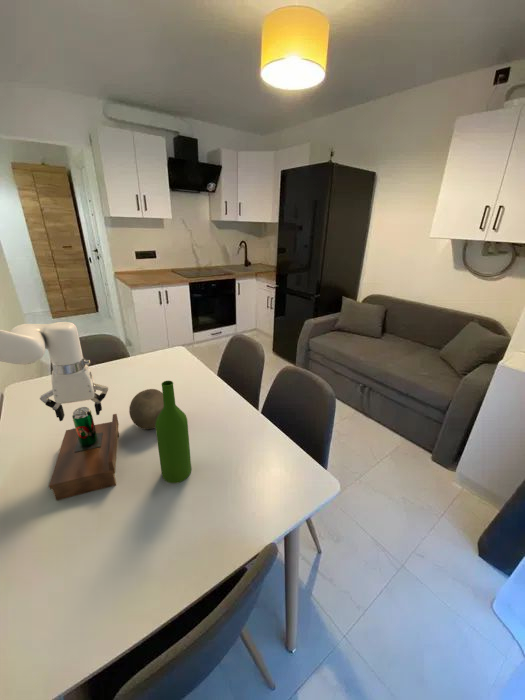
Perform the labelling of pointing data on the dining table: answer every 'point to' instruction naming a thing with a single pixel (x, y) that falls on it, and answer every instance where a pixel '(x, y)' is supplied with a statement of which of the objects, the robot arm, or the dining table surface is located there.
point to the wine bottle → (173, 438)
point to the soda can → (84, 426)
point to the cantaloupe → (146, 408)
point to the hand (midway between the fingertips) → (80, 415)
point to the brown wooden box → (86, 462)
